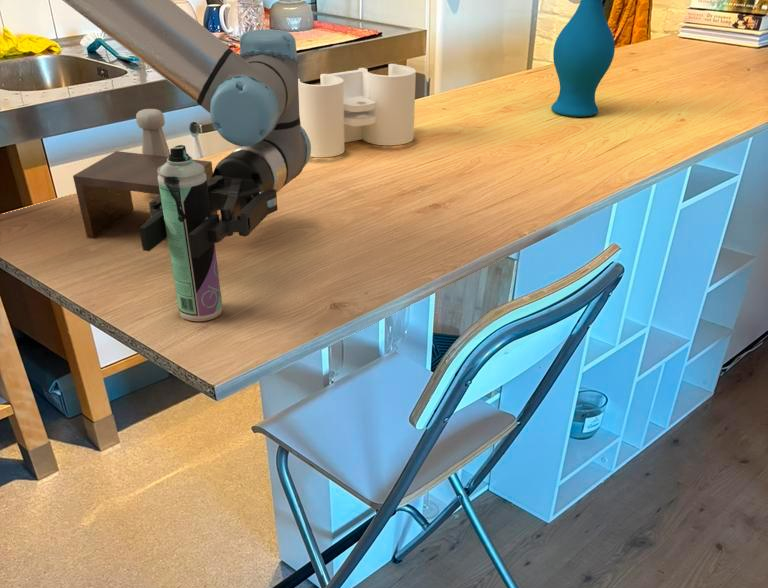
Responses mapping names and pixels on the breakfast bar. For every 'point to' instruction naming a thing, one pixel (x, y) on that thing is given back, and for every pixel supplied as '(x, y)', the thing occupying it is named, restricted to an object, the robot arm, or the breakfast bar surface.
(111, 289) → the breakfast bar surface
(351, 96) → the bracket
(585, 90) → the vase
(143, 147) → the salt shaker
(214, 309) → the spray can
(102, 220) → the shelf
